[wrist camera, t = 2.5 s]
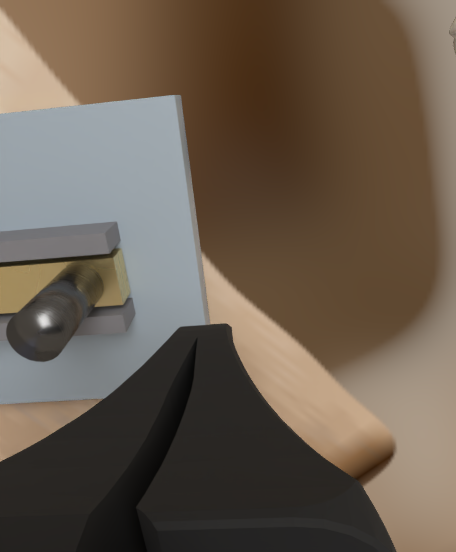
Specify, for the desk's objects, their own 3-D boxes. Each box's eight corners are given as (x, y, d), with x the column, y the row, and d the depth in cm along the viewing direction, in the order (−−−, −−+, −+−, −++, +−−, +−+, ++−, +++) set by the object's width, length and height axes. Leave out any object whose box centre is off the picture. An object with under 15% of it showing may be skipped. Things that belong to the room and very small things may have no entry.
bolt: (121, 248, 18) (74, 304, 13) (130, 292, 18) (89, 361, 14) (-64, 263, 18) (-175, 322, 13) (-48, 305, 19) (-147, 376, 14)
